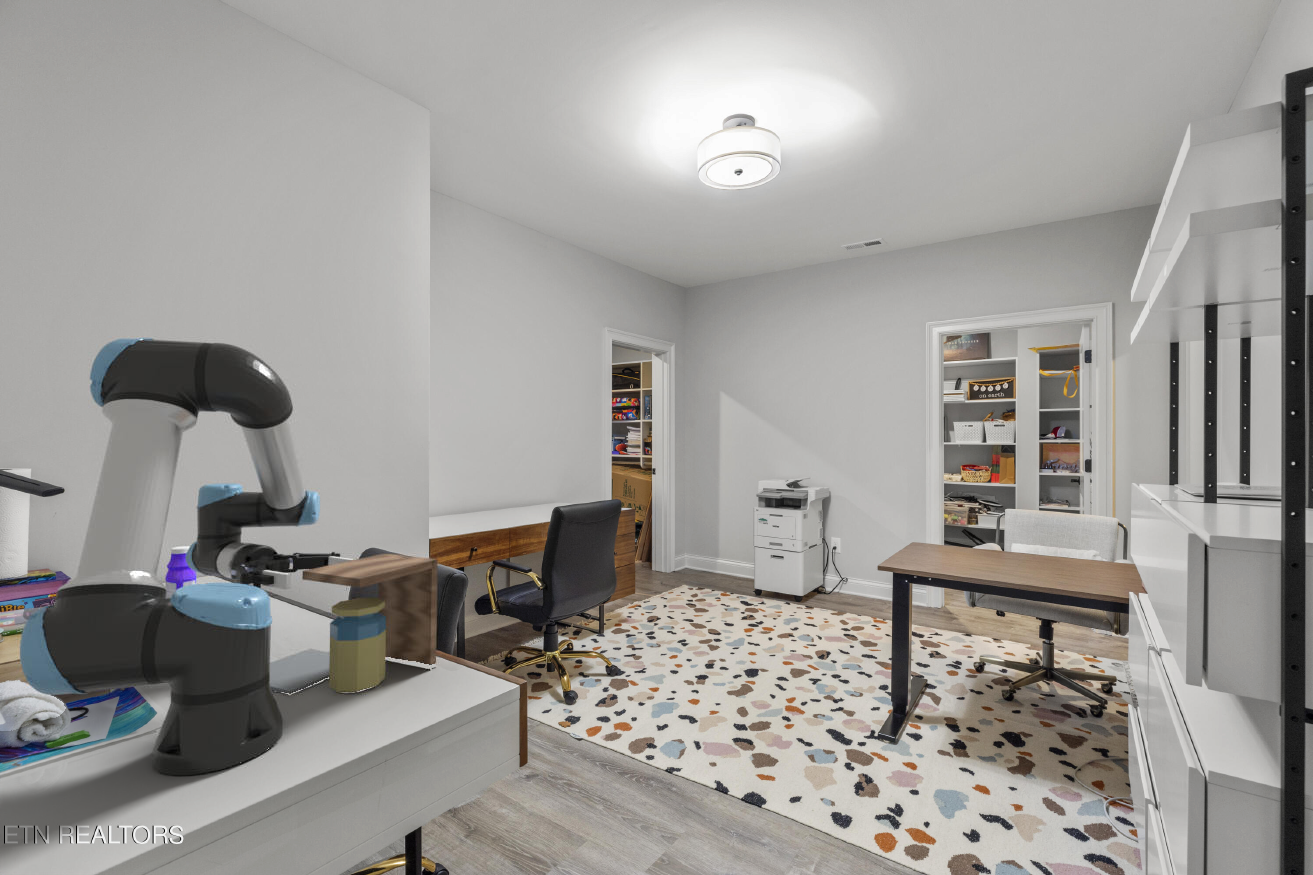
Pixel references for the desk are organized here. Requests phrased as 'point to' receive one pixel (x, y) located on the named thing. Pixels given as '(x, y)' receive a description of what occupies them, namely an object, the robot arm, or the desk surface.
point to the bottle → (179, 571)
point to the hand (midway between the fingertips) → (322, 573)
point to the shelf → (395, 599)
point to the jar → (357, 645)
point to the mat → (299, 670)
